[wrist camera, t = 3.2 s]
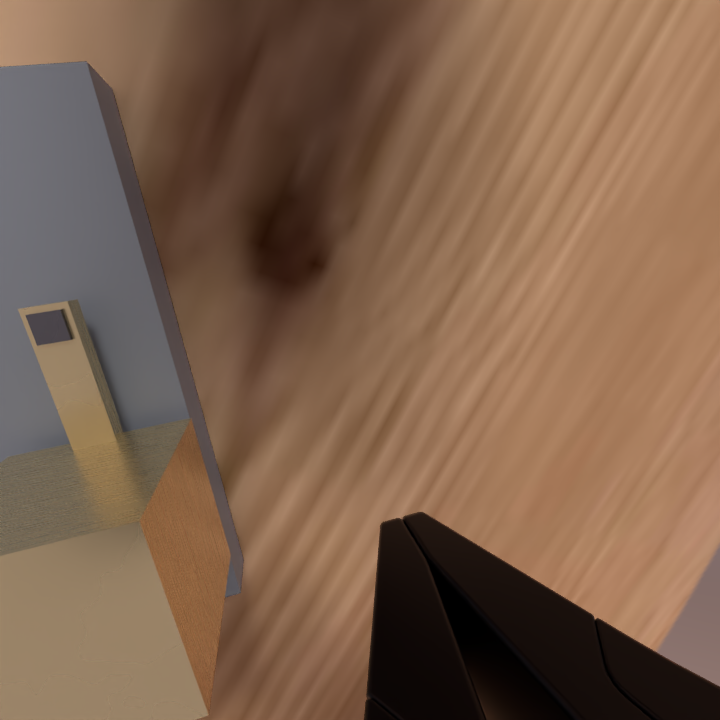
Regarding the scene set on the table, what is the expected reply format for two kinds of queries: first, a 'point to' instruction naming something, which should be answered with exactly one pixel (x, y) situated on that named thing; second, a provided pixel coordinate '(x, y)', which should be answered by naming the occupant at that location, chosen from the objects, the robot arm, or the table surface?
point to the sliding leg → (106, 554)
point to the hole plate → (86, 266)
